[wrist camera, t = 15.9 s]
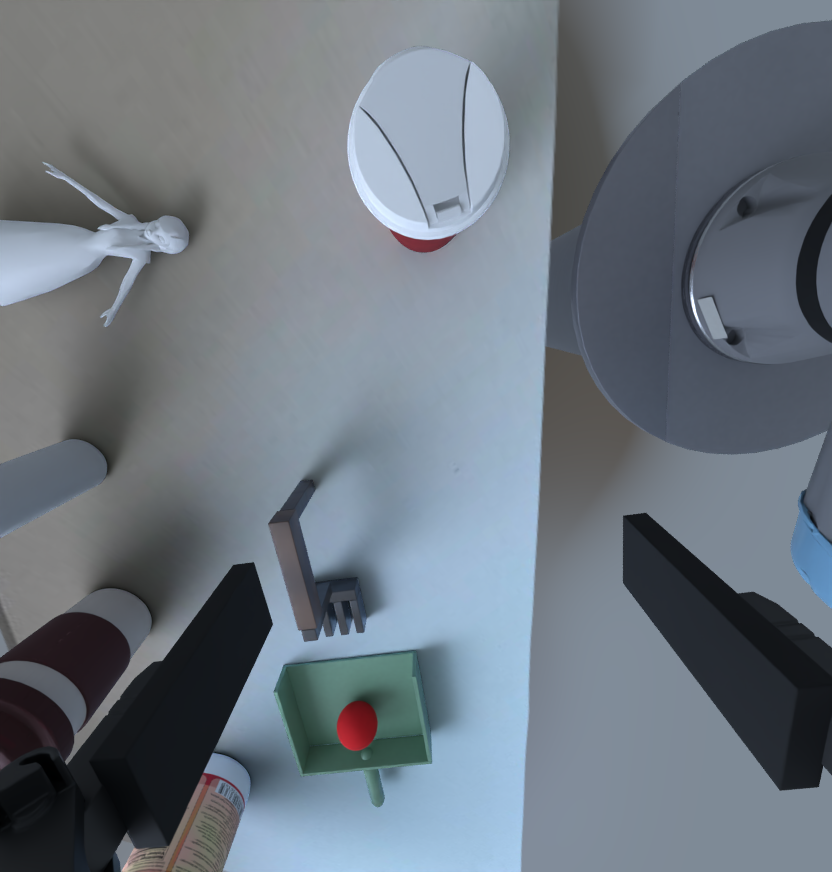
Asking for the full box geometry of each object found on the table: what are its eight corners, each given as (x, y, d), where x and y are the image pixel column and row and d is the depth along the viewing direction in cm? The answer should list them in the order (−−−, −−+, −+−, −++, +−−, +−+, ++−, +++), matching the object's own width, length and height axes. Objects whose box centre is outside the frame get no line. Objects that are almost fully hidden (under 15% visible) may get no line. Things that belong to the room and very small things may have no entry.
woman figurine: (-130, 170, 26) (142, 127, 27) (-58, 191, 31) (176, 154, 31) (-44, 349, 30) (197, 309, 30) (11, 345, 34) (221, 310, 34)
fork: (277, 483, 38) (242, 527, 30) (335, 476, 38) (314, 517, 30) (315, 624, 43) (292, 692, 35) (366, 618, 42) (355, 685, 35)
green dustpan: (283, 665, 44) (273, 692, 41) (416, 650, 44) (416, 676, 40) (321, 791, 50) (315, 823, 47) (439, 779, 49) (440, 811, 46)
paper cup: (484, 248, 32) (534, 201, 18) (393, 280, 33) (377, 258, 19) (456, 138, 30) (489, -5, 16) (359, 175, 30) (314, 68, 17)
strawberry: (380, 747, 41) (377, 748, 44) (378, 696, 43) (375, 700, 47) (336, 753, 40) (336, 753, 44) (336, 700, 43) (337, 704, 46)
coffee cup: (181, 642, 43) (65, 805, 29) (98, 659, 44) (-56, 826, 30) (141, 566, 41) (-9, 704, 26) (53, 585, 41) (-141, 730, 27)
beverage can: (63, 428, 36) (-101, 482, 25) (116, 449, 37) (-19, 511, 25) (54, 473, 38) (-105, 544, 26) (105, 493, 38) (-28, 570, 27)
